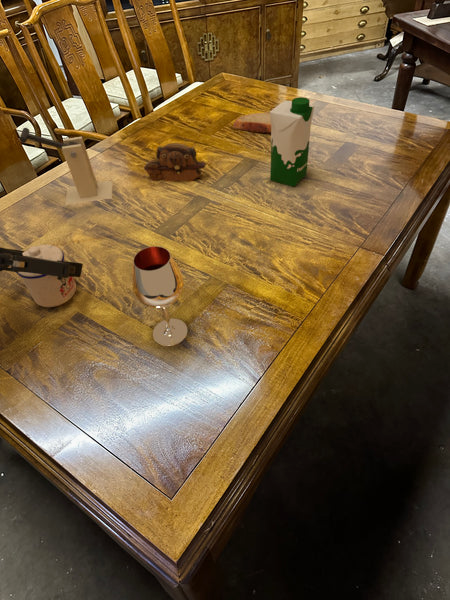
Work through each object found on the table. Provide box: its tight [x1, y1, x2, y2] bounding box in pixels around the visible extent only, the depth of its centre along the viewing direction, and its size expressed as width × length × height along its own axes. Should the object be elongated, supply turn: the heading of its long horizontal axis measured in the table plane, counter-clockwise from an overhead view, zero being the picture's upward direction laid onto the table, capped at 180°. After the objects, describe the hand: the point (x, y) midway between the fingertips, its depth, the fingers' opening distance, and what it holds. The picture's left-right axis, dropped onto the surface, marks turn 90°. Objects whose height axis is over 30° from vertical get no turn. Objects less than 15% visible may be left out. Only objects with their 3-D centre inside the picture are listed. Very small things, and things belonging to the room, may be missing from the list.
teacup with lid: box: [15, 244, 77, 308], centre depth 82 cm, size 12×9×12 cm
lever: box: [19, 127, 78, 150], centre depth 99 cm, size 13×5×2 cm, turn 101°
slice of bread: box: [232, 111, 271, 134], centre depth 129 cm, size 18×18×4 cm
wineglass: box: [131, 245, 188, 347], centre depth 70 cm, size 8×8×18 cm
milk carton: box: [269, 96, 315, 188], centre depth 103 cm, size 9×9×20 cm
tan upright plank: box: [61, 136, 113, 206], centre depth 105 cm, size 12×9×15 cm
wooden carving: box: [143, 142, 207, 182], centre depth 109 cm, size 16×5×10 cm, turn 88°
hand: (51, 263), depth 84 cm, fingers open, 13 cm apart
